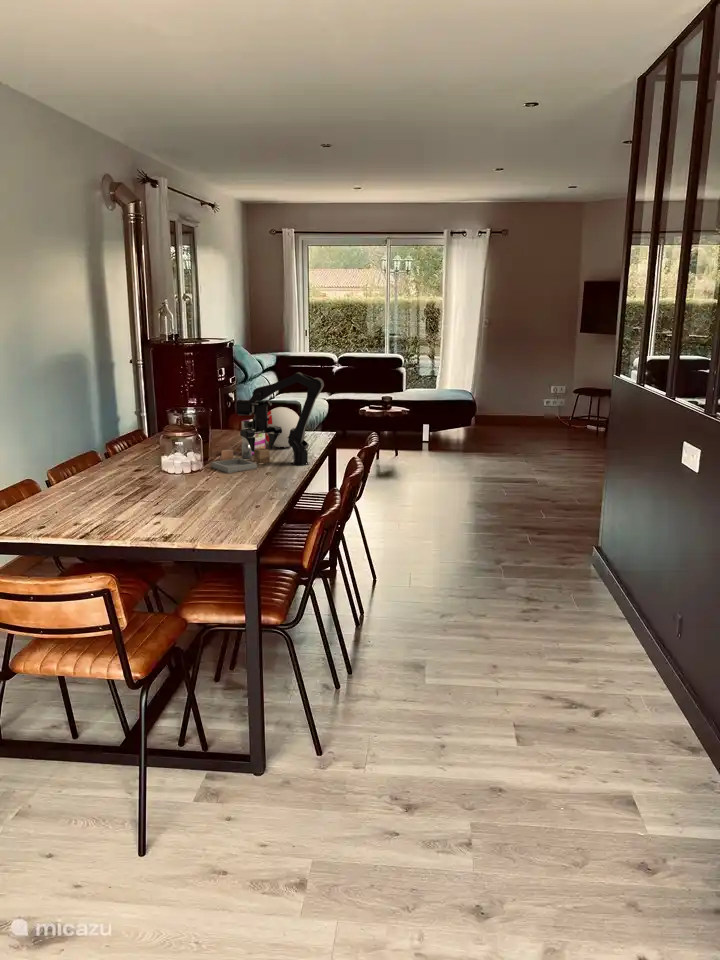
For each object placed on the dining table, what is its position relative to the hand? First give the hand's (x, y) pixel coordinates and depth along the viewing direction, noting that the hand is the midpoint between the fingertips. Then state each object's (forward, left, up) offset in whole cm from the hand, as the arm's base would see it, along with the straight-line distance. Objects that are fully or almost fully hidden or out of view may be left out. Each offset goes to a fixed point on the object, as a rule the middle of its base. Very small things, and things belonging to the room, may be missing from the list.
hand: (261, 450), depth 329 cm
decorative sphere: (+25, -28, -6) cm, 38 cm away
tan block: (+11, +11, -6) cm, 17 cm away
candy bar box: (+19, -8, -6) cm, 21 cm away
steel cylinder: (+11, +1, -6) cm, 12 cm away
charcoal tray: (-3, +16, -6) cm, 17 cm away
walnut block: (0, 0, -6) cm, 6 cm away
